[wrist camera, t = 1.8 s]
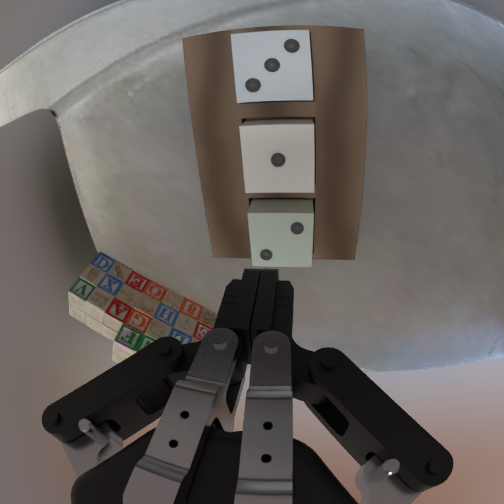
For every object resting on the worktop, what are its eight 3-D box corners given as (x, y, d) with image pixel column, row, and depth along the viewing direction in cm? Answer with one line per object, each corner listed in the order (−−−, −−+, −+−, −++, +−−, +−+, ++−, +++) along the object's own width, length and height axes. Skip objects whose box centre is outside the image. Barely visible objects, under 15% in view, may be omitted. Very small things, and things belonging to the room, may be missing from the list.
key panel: (356, 34, 20) (363, 29, 17) (350, 245, 33) (354, 259, 30) (193, 41, 22) (182, 38, 20) (219, 243, 35) (213, 257, 33)
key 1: (311, 119, 23) (314, 124, 20) (312, 180, 27) (314, 193, 24) (245, 120, 24) (238, 126, 21) (250, 180, 27) (245, 193, 25)
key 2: (312, 199, 28) (313, 214, 25) (310, 249, 31) (311, 268, 28) (252, 199, 29) (247, 214, 26) (256, 248, 32) (252, 267, 29)
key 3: (307, 36, 19) (308, 29, 16) (310, 98, 22) (313, 100, 19) (238, 39, 20) (230, 34, 17) (243, 100, 23) (236, 103, 20)
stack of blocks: (96, 276, 43) (58, 328, 33) (100, 250, 39) (55, 304, 29) (207, 334, 47) (187, 397, 36) (222, 314, 43) (202, 383, 33)
